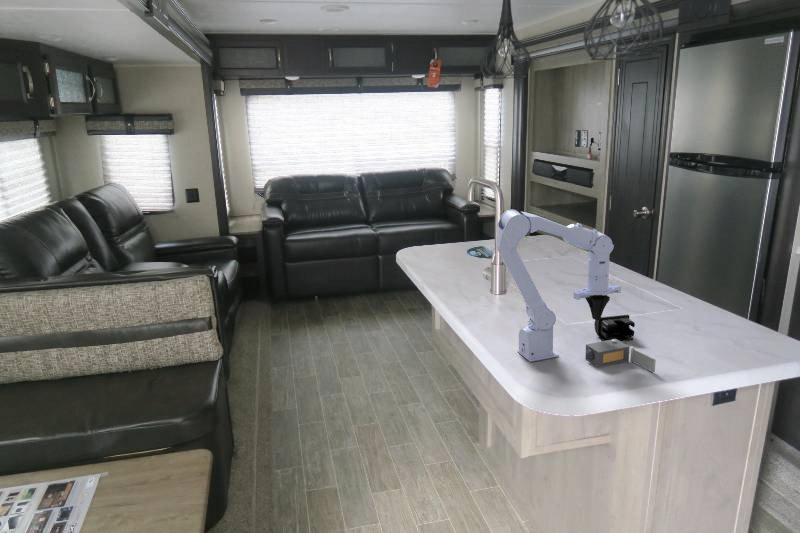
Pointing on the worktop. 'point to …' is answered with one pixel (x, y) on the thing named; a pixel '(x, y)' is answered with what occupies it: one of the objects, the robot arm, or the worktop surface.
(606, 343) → the camera case
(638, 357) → the side cover
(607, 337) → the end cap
